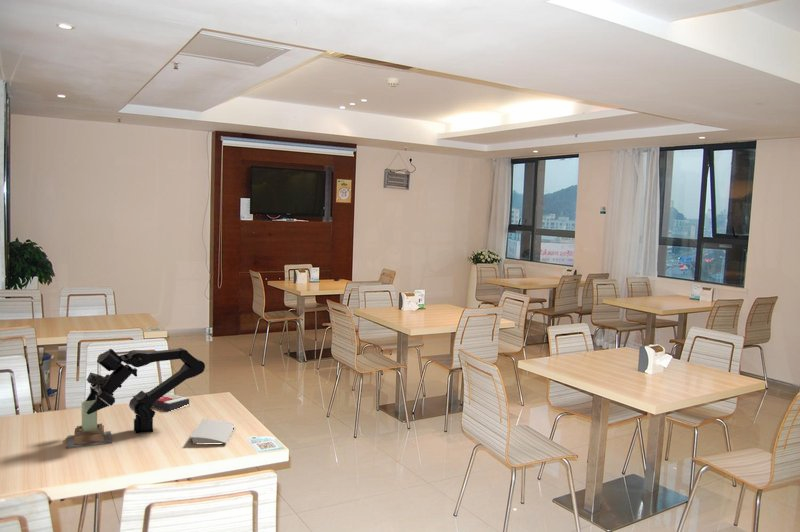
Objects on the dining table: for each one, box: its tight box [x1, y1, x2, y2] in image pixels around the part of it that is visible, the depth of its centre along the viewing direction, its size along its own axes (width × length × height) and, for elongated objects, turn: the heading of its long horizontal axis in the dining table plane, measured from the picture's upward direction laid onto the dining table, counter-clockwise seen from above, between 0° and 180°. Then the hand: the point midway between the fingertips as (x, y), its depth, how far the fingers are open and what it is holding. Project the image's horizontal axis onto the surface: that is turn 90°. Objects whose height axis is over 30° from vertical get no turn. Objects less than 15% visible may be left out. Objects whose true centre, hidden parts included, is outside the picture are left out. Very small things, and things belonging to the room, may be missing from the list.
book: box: [189, 418, 235, 445], centre depth 241 cm, size 15×23×4 cm, turn 5°
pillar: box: [81, 400, 98, 432], centre depth 231 cm, size 5×5×11 cm
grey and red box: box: [153, 392, 190, 412], centre depth 276 cm, size 11×4×15 cm
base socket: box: [65, 422, 113, 449], centre depth 231 cm, size 15×12×5 cm
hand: (85, 410), depth 230 cm, fingers open, 9 cm apart
